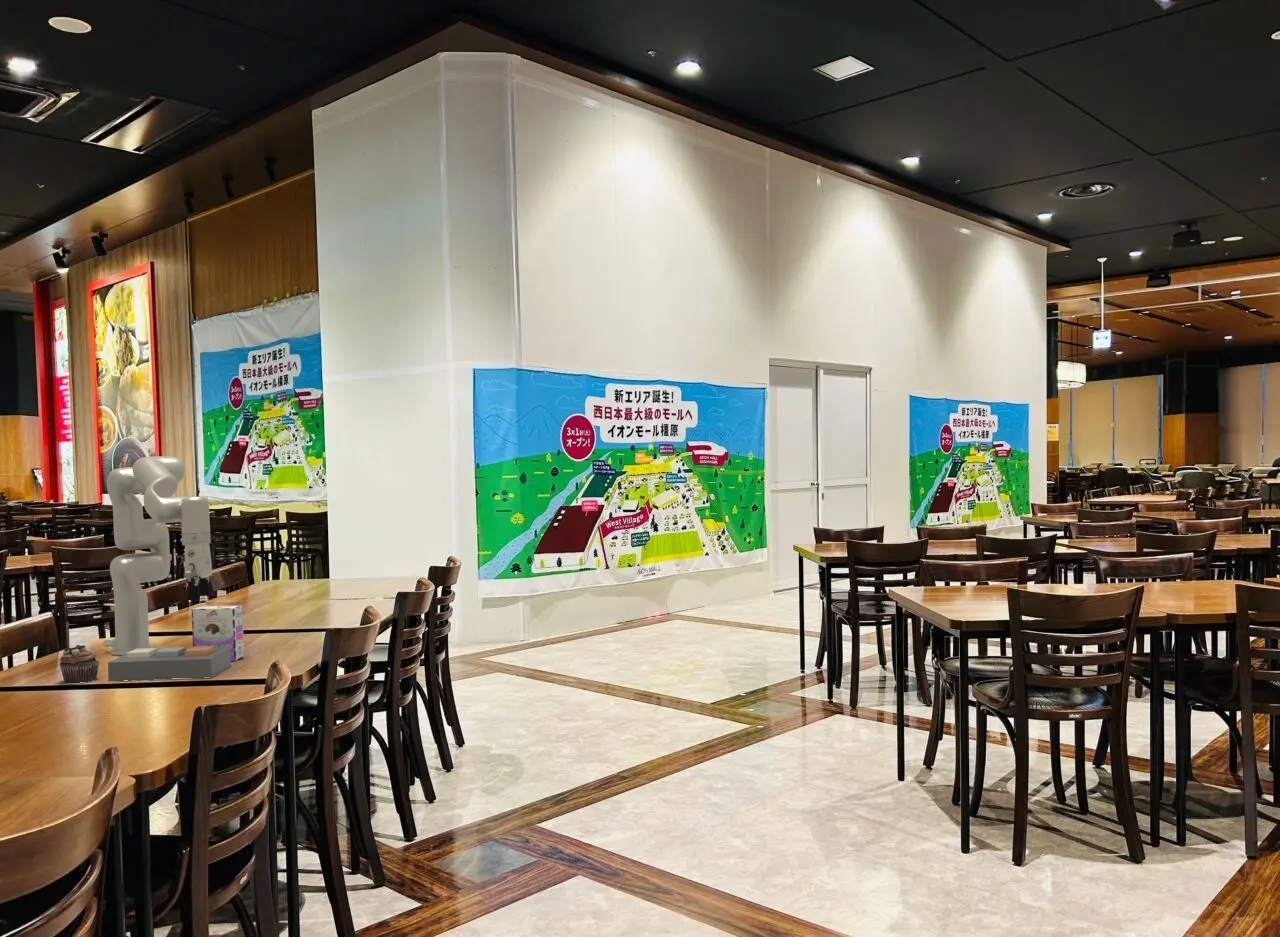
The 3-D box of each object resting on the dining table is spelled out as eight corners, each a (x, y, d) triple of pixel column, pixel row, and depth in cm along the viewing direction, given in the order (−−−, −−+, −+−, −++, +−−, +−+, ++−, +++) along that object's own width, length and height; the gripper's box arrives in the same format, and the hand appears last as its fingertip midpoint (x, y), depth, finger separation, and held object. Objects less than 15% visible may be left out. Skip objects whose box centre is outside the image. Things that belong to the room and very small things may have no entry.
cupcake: (82, 685, 269) (81, 649, 269) (52, 684, 271) (51, 648, 271) (107, 677, 279) (106, 642, 278) (78, 676, 280) (77, 641, 280)
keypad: (108, 681, 272) (107, 662, 272) (133, 669, 288) (133, 650, 288) (211, 678, 274) (210, 658, 274) (231, 665, 290) (230, 647, 290)
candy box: (245, 657, 302) (243, 604, 302) (235, 661, 296) (233, 607, 296) (202, 657, 304) (201, 605, 303) (192, 661, 298) (190, 608, 297)
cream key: (127, 665, 278) (126, 652, 278) (136, 660, 284) (136, 648, 284) (148, 664, 278) (148, 652, 278) (157, 659, 284) (157, 648, 284)
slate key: (156, 664, 278) (155, 651, 278) (164, 659, 284) (164, 647, 284) (177, 663, 279) (177, 651, 279) (186, 659, 285) (185, 647, 285)
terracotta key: (185, 663, 279) (184, 651, 279) (193, 658, 285) (192, 646, 285) (206, 662, 279) (206, 650, 279) (214, 658, 285) (213, 646, 285)
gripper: (200, 540, 275) (203, 601, 275) (218, 536, 292) (220, 593, 292) (172, 541, 274) (175, 602, 274) (192, 538, 291) (194, 595, 291)
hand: (198, 597), depth 283 cm, fingers open, 9 cm apart
